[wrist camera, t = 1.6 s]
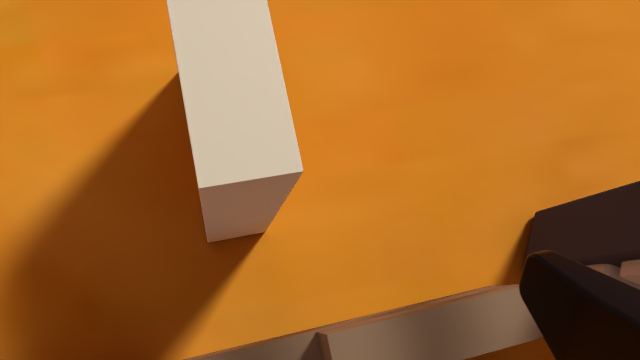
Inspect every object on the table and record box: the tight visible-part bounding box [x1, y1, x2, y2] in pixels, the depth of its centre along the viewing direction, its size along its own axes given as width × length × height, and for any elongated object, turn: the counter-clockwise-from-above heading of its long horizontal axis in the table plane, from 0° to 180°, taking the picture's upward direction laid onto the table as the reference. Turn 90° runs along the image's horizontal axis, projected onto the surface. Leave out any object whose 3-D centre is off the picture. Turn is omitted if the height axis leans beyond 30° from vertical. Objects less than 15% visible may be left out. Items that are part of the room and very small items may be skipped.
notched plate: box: [166, 0, 303, 243], centre depth 18 cm, size 8×2×10 cm, turn 13°
